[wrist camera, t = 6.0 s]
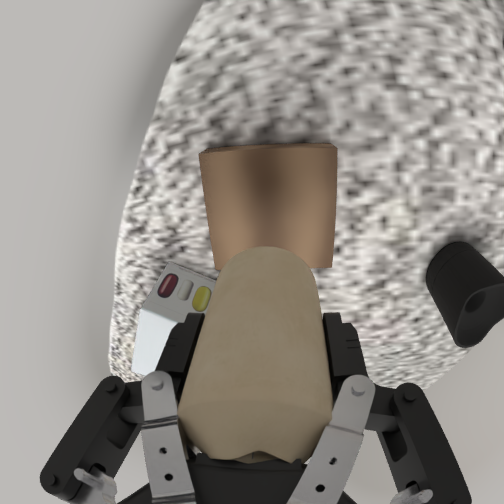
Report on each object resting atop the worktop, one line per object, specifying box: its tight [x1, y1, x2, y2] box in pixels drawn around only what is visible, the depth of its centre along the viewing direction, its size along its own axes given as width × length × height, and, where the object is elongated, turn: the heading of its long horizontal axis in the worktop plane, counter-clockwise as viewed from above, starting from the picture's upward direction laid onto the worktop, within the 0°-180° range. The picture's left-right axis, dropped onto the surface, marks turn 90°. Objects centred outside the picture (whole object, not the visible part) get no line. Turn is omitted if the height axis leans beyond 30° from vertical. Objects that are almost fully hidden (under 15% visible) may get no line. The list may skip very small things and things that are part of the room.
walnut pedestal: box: [199, 143, 337, 270], centre depth 27 cm, size 12×12×3 cm
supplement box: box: [131, 262, 216, 377], centre depth 33 cm, size 17×13×9 cm
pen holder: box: [426, 242, 504, 348], centre depth 25 cm, size 9×9×10 cm
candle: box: [177, 246, 334, 464], centre depth 11 cm, size 6×6×10 cm
